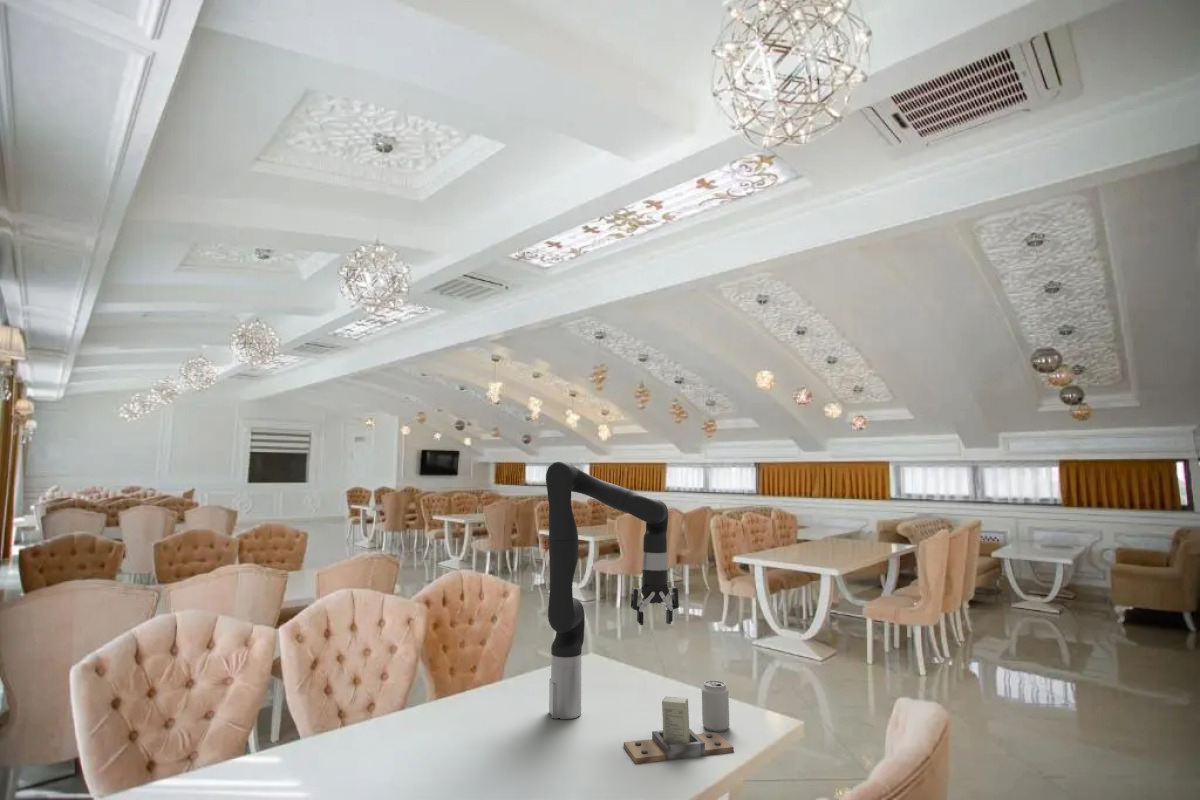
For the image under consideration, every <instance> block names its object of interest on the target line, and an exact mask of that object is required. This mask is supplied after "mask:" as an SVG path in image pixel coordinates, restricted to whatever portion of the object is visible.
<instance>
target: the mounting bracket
mask: <svg viewBox="0 0 1200 800" xmlns="http://www.w3.org/2000/svg"><path fill="white" fill-rule="evenodd" d="M689 733H690V743H681V744H672V745H669V744H668V743H667V742H666V741H665V740H664V739H663V729H661V730H654V731H651V739H650V738H649V739H639V740H632V741H623V749H626V750H625V751H626V753H627V752H628V753H627V754H628V756H629V757H630V758H631V759H632V761H633V762H634V763H635V764H643V763H651V762H660V761H661V760H662V761H672V759H673V760H680V759H688V758H689V759H690V758H697V757H698V758H699V757H705V756H711V755H710V754H712V755H718V754H719V753H721V754H726V753H725V752H729V753H734V749H735V748H734V746H733V745H732V744H731V743H730V742H728V741H727V740H726V739H725V738H724V737H723V736H721V735H720V734H719V733H718V732H715V731H711V732H704V733H695V732H694V731H693V730H692V729H690V728H689ZM719 755H720V754H719Z"/></svg>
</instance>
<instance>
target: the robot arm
mask: <svg viewBox="0 0 1200 800" xmlns="http://www.w3.org/2000/svg"><path fill="white" fill-rule="evenodd" d="M545 484H546V490H547V491H546V492H547V499H548V556H549V595H548V596H549V597H548V607H547V618H548V619H547V621H548V623H549V626H550V627H551V628H552V629H553V630H554V631H555V637H554V639H553V642H552V643H551V647H550V648H551V650H550V651H551V655H550V656H551V657H550V660H551V661H550V664H551V665H550V678H549V685H548V686H549V689H548V691H549V693H548V694H549V697H548V701H549V702H548V712H550V713H549V714H551V715H550V716H551V719H553V718H554V719H558V718H560V719H559V720H571V719H572V720H573V719H575V718H578V716H579V717H580V716H581V715H582V652H583V651H582V649H583V644H584V640H585V622H586V621H585V618H586V617H585V609H584V606H583V604H582V602H581V601H580V600H579V599H577V598H575V597H574V596H573V583H574V578H575V573H576V569H577V565H578V559H579V551H580V550H579V549H580V548H579V532H578V528H577V527H578V526H577V523H576V520H575V516H574V512H573V510H572V508H573V507H572V492H573V493H577V494H582V495H584V496H588V497H590V498H592V499H594V500H596V501H598V502H600V503H602V504H603V505H606V506H608V507H610V508H613V509H615V510H617V511H619V512H622V513H625V514H629V515H631V516H633V517H635V518H637V519H638V520H641V521H644V523H645V532H644V535H643V543H642V546H643V547H642V548H643V549H642V553H643V554H642V561H641V562H642V569H641V570H642V571H641V573H642V581H641V584H642V586H641V588H636V587H632V588H631V599H630V608H631V609H632V610H635V611H636V622H637V623H638V624H639V626H644V610H645V608H646V607H647V606H648V605H649V604H655V603H656V604H661V603H662V604H663V605H664V606H665V620H666V621H665V622H666V624H667V625H670V624H672V622H673V620H674V619H673V617H674V616H673V615H674V614H673V612H674V610H676V609H679V608H680V603H679V602H680V601H679V600H680V599H679V589H678V587H677V586H671V587H669V586H668V571H669V570H668V567H669V564H668V563H669V561H668V553H667V552H668V551H667V547H668V546H667V545H668V541H667V531H668V523H669V510H668V507H667V504H666V503H665V502H664V501H661V500H657V499H653V498H652V499H651V498H649V497H646V496H644V495H640V494H638V492H635V491H633V490H631V489H630V488H629V489H628V488H625V487H624V486H623V487H622V486H620V485H617V484H614V483H610V482H608V481H605V480H602V479H599V478H597V477H594V476H593V475H590V474H588V473H586V472H585V471H583V470H581V469H579V468H578V467H577V466H575V465H574V464H572V463H569V462H565V461H555V462H553V463H552V464H550V465H549V467H548V468H547V470H546V474H545ZM640 594H641V595H642V596H643V597H642V598H641V600H640V601H639V603H638V597H639V596H640ZM668 594H670V595H671V603H670V601H669V599H668V598H667V596H668Z"/></svg>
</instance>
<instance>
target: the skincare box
mask: <svg viewBox="0 0 1200 800" xmlns="http://www.w3.org/2000/svg"><path fill="white" fill-rule="evenodd" d="M661 705H662V706H661V709H662V710H661V711H662V713H661V714H662V730H663V739H664V740H665V741H666V742H667V743H668V744H669V745H672V744H681V743H690V733H689V729H690V716H689V715H690V713H689V698H687V697H676V696H664V698H663V699H662V701H661Z"/></svg>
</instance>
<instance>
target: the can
mask: <svg viewBox="0 0 1200 800" xmlns="http://www.w3.org/2000/svg"><path fill="white" fill-rule="evenodd" d="M726 685H727V683H725V682H724V681H722V680H716V679H710V680H709V679H708V680H705V681H704V682H703V686H702V687H701V709H702V710H701V712H702V713H701V714H702V715H701V716H702V722H701V723H702V725H703V727H704V728H705V729H706V730H708V731H711V732H717V733H718V732H719V733H720V732H724V731H726V730H727V729H728V728H729V727H730V705H729V703H730V702H729V700H730V699H729V688H728V687H727V686H726Z"/></svg>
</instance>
